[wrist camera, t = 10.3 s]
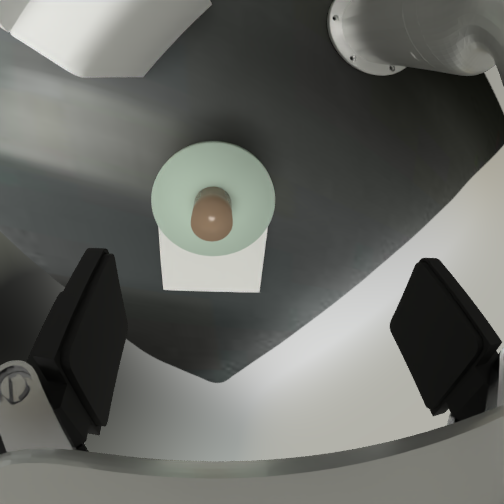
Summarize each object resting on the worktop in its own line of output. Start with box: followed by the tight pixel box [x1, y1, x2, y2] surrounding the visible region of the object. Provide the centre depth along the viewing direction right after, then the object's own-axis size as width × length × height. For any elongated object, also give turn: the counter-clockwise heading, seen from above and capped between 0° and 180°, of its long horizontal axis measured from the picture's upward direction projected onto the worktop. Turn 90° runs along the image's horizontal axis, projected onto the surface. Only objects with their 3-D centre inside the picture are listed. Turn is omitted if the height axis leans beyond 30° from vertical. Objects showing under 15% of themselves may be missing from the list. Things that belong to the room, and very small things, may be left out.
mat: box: [158, 226, 268, 292], centre depth 46 cm, size 15×15×1 cm
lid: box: [151, 141, 275, 256], centre depth 30 cm, size 12×12×5 cm
